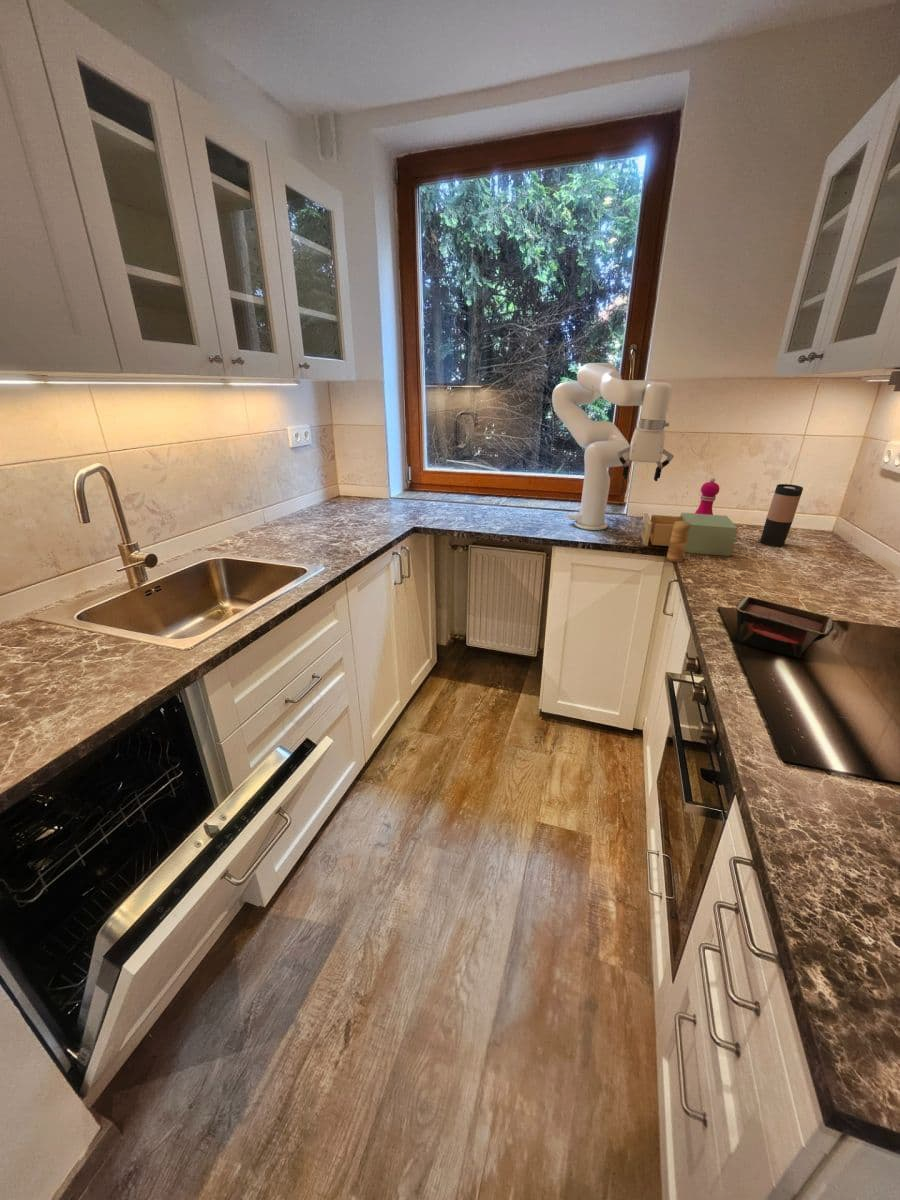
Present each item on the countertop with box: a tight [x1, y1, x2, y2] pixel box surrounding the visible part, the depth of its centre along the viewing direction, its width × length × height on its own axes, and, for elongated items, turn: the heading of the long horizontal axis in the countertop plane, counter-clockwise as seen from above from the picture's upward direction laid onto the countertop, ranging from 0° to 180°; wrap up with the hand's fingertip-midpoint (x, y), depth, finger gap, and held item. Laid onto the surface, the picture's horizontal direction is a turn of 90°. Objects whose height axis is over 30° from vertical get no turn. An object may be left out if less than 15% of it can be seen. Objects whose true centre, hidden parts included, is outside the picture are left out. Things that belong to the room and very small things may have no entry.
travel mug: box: [760, 483, 804, 547], centre depth 162 cm, size 8×8×20 cm
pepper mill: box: [693, 477, 721, 515], centre depth 174 cm, size 7×7×20 cm
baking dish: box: [736, 596, 835, 659], centre depth 104 cm, size 14×18×10 cm
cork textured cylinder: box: [666, 521, 691, 563], centre depth 149 cm, size 5×5×12 cm
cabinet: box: [679, 512, 738, 557], centre depth 160 cm, size 15×15×10 cm
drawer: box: [630, 512, 685, 547], centre depth 164 cm, size 18×13×8 cm
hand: (640, 479), depth 157 cm, fingers open, 9 cm apart
